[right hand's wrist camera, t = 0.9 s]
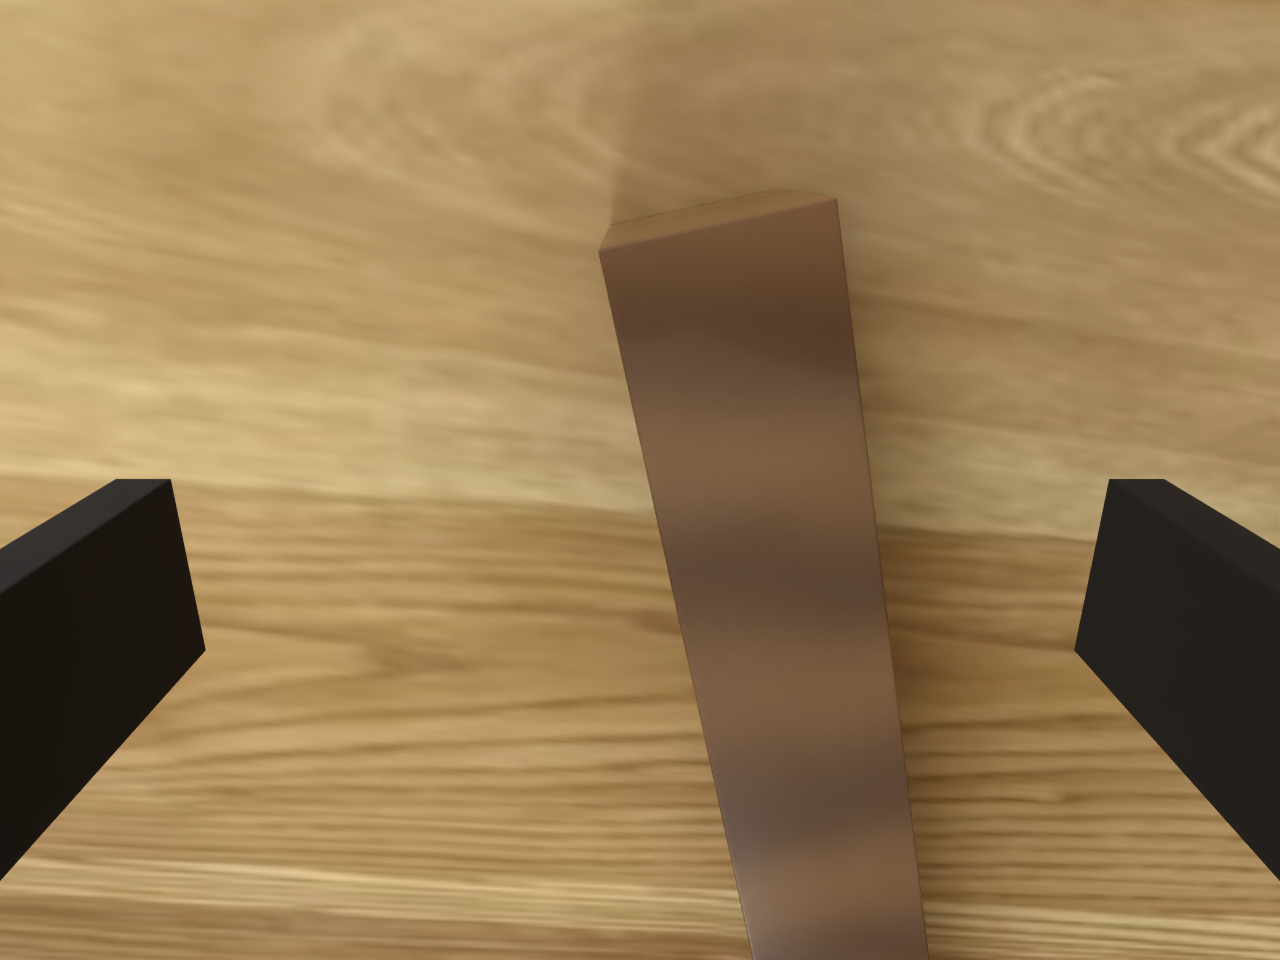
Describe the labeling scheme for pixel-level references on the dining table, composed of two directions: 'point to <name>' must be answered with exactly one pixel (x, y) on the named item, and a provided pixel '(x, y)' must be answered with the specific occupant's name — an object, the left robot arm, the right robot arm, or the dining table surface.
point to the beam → (774, 561)
